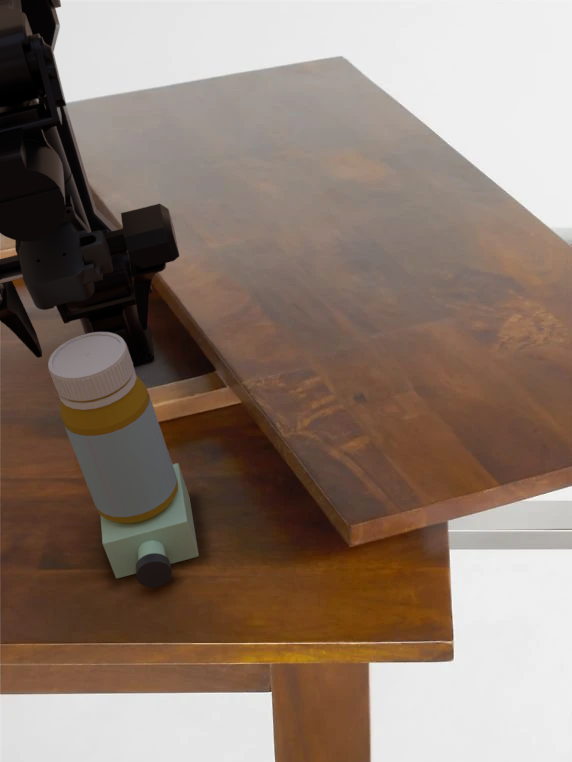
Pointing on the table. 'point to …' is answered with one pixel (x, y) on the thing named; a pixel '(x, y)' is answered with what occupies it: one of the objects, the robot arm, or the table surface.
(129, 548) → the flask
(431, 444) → the table surface
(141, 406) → the bottle
